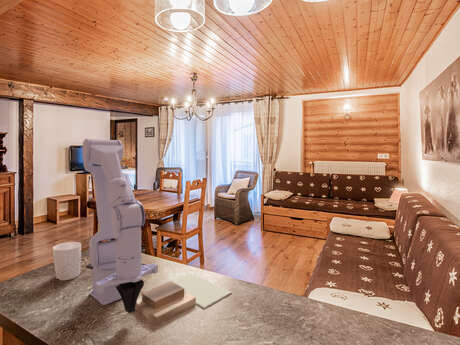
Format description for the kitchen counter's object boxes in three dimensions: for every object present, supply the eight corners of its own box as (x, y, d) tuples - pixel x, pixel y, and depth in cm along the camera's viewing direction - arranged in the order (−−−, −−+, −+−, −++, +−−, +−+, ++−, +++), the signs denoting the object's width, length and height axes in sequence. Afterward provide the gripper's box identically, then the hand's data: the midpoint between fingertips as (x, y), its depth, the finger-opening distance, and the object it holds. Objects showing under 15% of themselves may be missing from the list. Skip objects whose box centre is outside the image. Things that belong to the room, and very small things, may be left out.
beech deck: (130, 305, 72) (130, 298, 72) (169, 289, 81) (168, 282, 81) (156, 325, 64) (156, 317, 64) (195, 304, 73) (195, 297, 73)
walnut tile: (142, 300, 71) (141, 293, 71) (170, 288, 78) (170, 281, 78) (155, 309, 67) (154, 301, 67) (184, 295, 74) (184, 288, 74)
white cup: (75, 268, 95) (74, 240, 94) (86, 274, 90) (85, 244, 89) (49, 276, 88) (48, 246, 88) (60, 284, 84) (59, 252, 83)
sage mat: (163, 285, 83) (163, 284, 83) (190, 274, 91) (190, 273, 91) (204, 308, 71) (204, 307, 71) (231, 293, 79) (231, 292, 79)
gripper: (104, 269, 56) (106, 332, 58) (164, 251, 67) (165, 304, 68) (90, 260, 61) (92, 318, 62) (149, 244, 72) (149, 294, 73)
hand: (129, 310), depth 66 cm, fingers closed
